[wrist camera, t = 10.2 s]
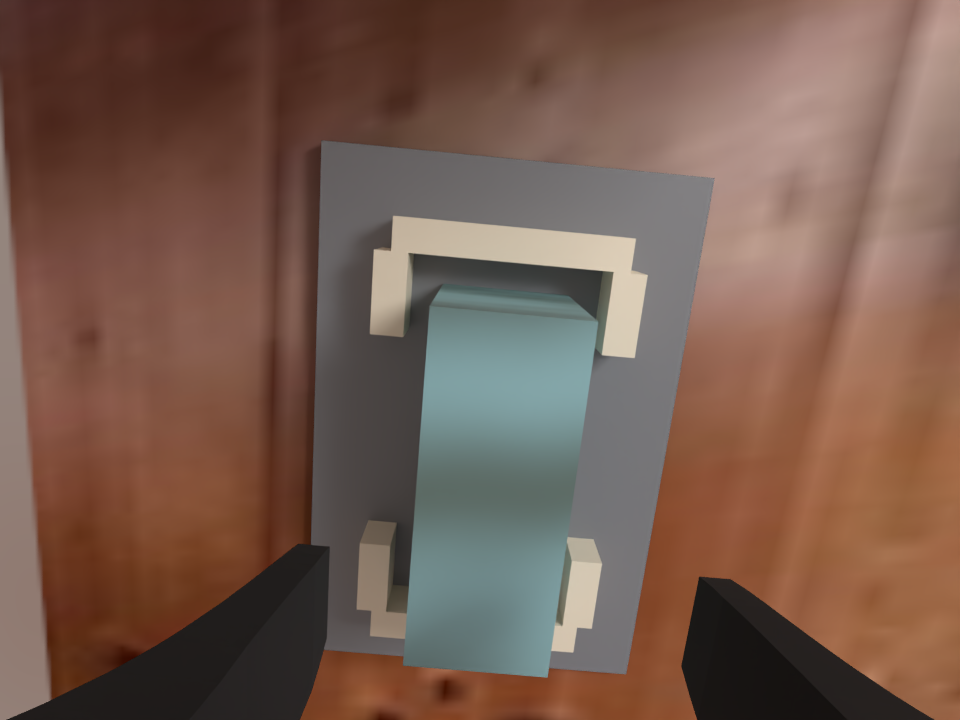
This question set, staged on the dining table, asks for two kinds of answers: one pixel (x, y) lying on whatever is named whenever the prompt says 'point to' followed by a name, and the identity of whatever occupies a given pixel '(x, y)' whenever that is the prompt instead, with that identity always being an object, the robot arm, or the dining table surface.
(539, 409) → the teal block
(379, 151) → the jig
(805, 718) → the robot arm
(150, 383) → the dining table surface
